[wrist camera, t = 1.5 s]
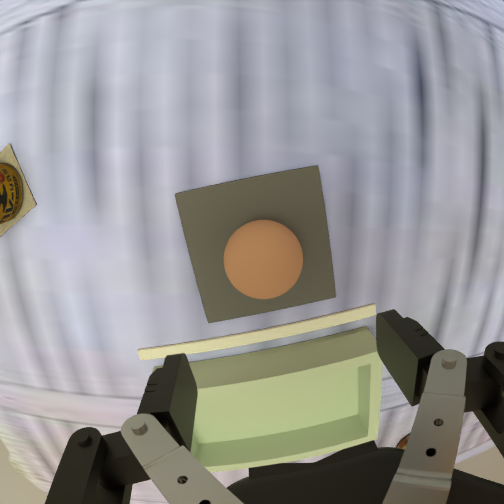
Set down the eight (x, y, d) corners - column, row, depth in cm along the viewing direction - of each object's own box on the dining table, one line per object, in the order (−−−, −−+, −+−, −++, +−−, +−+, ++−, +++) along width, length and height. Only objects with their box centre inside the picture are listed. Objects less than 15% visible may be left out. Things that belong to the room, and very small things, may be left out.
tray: (365, 326, 31) (382, 349, 26) (365, 414, 35) (377, 439, 30) (154, 366, 31) (145, 394, 27) (192, 446, 35) (189, 473, 30)
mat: (316, 165, 26) (317, 165, 26) (334, 295, 30) (335, 297, 29) (175, 193, 26) (174, 194, 26) (208, 321, 30) (208, 323, 29)
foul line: (374, 303, 30) (375, 304, 30) (374, 313, 30) (375, 315, 30) (137, 349, 30) (137, 350, 30) (141, 358, 31) (141, 360, 30)
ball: (289, 207, 27) (304, 220, 21) (300, 274, 28) (315, 303, 23) (217, 221, 27) (213, 239, 21) (233, 287, 28) (232, 320, 23)
